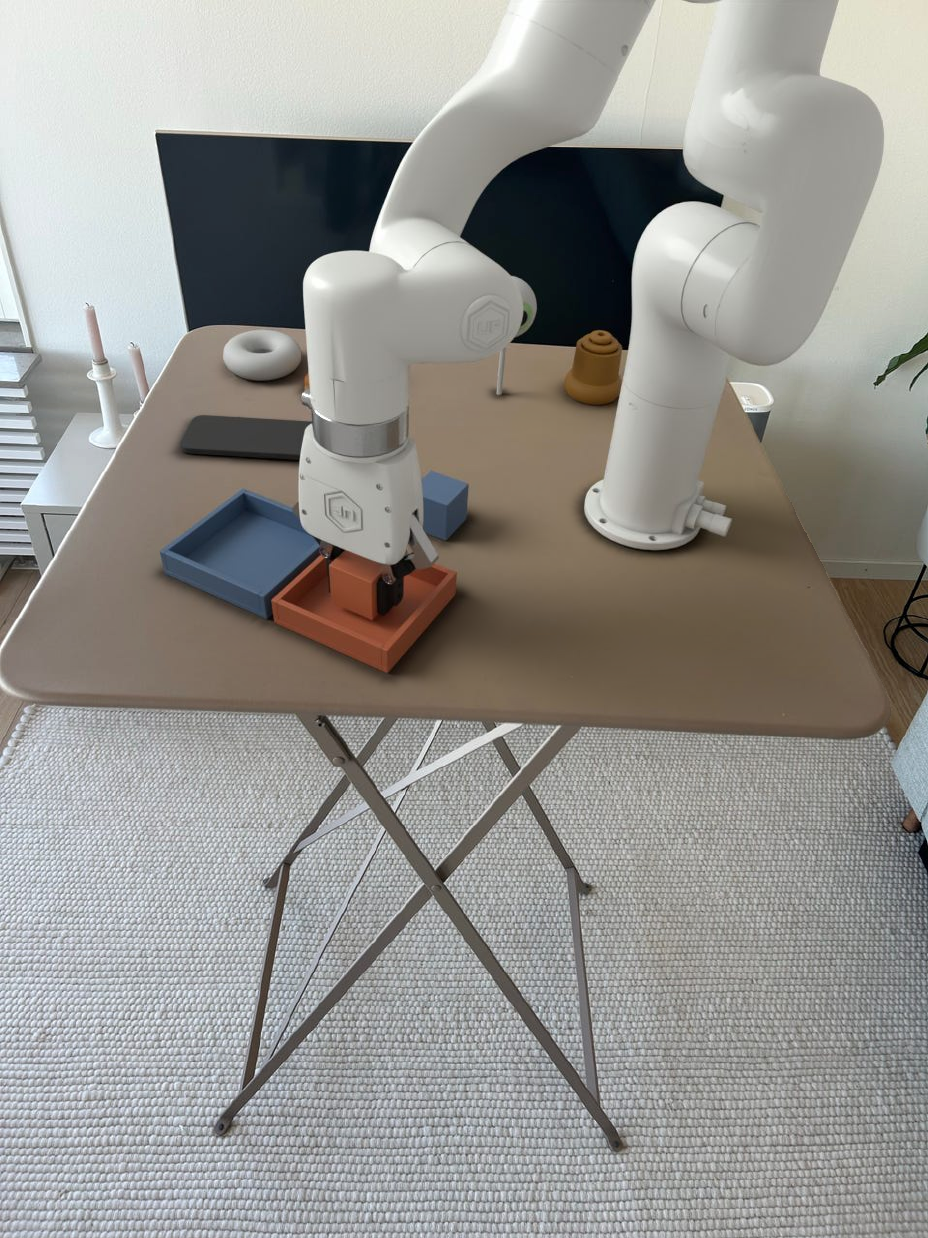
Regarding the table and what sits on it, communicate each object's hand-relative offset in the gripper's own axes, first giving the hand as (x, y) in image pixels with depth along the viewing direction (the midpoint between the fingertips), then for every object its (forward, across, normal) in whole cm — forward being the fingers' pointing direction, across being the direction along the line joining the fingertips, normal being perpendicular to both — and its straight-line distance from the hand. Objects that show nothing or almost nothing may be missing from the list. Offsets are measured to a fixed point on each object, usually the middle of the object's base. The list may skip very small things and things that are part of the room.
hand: (365, 594), depth 81 cm
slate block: (+2, -1, +15) cm, 15 cm away
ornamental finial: (+2, +2, +50) cm, 50 cm away
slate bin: (+2, -13, 0) cm, 13 cm away
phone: (+2, -27, +17) cm, 32 cm away
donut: (+2, -37, +32) cm, 49 cm away
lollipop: (+2, -8, +43) cm, 44 cm away
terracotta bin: (+2, 0, 0) cm, 2 cm away
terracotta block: (0, 0, 0) cm, 0 cm away
